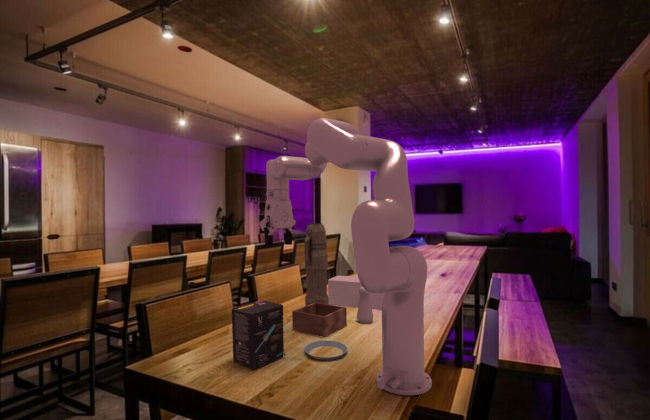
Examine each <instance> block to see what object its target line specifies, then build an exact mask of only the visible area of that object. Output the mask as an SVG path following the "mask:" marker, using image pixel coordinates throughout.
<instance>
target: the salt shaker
mask: <svg viewBox="0 0 650 420" xmlns="http://www.w3.org/2000/svg"><path fill="white" fill-rule="evenodd" d="M359 293H360V299H359V306H358V308H357V313H356V320H357V321H358V323H361V324H371V323H372V322H373V320H374V313H373V309H372V308H371V303H370V297H369V294H370V292H368V291H367V290H365V289H364V288H363V286H362V287H360V288H359Z"/></svg>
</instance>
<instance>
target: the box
mask: <svg viewBox="0 0 650 420" xmlns="http://www.w3.org/2000/svg"><path fill="white" fill-rule="evenodd" d="M291 312H292V315H291V317H292V319H291V320H292V324H291V325H292V331H295V332H300V333H305V334H308V335H312V336H316V337H322V338H327V337H329V336H330V335H332V334H334V333H336V332H338V331H340V330H341V329H344V328H345V327H347V326H348V324H347V323H348V322H347V321H348V320H347V316H348V315H347V307H346V306H336V305H328V304H322V303H316V302H315V303H313V304H310V305H307V306H302V307H300V308H296V309H294V310H292V311H291Z"/></svg>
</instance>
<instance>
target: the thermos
mask: <svg viewBox="0 0 650 420" xmlns="http://www.w3.org/2000/svg"><path fill="white" fill-rule="evenodd" d="M326 234H327V233H326V228H325V225H324V224H323V223H319V222H317V223H315V222H314V223H309V224H307V227H306V230H305V238H304V240H303V241H304V242H303V243H304V270H305V274H306V275H305V278H306V279H305V280H306V293H305V297H304V304H305V306H307V305H310V304H313V303H315V302H316V303H322V304H328V305H329V300H328V279H327V277H328V273H327V271H328V267H329V266H328V265H329V263H328V261H329V258H328V252H327V249H328V248H327V247H328V246H327V244H328V243H327V235H326ZM305 306H304V307H305Z"/></svg>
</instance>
